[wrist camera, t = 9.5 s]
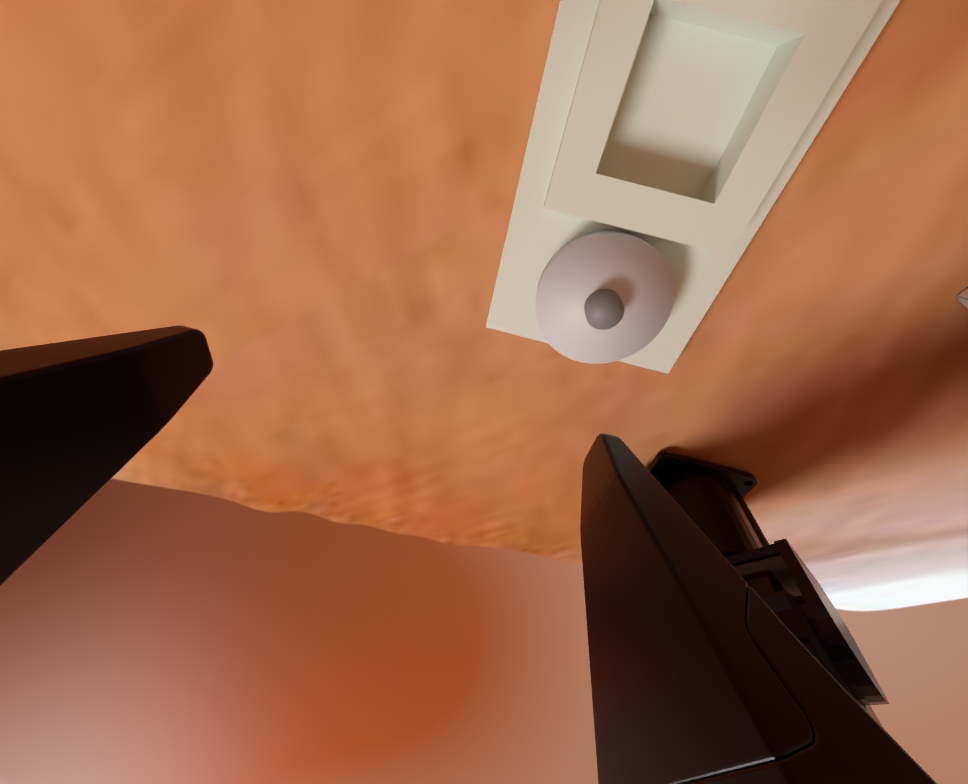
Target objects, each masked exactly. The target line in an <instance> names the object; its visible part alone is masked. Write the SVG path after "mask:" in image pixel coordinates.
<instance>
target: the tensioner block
mask: <svg viewBox="0 0 968 784" xmlns="http://www.w3.org/2000/svg"><path fill="white" fill-rule="evenodd" d="M899 2H900V0H560V4H559V8H558V13H557V17H556V21H555V26H554V30H553V35H552V39H551V43H550V48H549V52H548V56H547V61H546V65H545V70H544V74H543V78H542V83H541V87H540V92H539V96H538V100H537V105H536V109H535V113H534V118H533V122H532V127H531V131H530V135H529V140H528V144H527V149H526V153H525V157H524V162H523V166H522V170H521V175H520V179H519V184H518V188H517V192H516V197H515V201H514V206H513V210H512V214H511V219H510V223H509V227H508V232H507V236H506V241H505V245H504V249H503V254H502V258H501V263H500V267H499V271H498V276H497V280H496V285H495V289H494V293H493V298H492V302H491V306H490V311H489V315H488V320H487V324H486V327H487V328H491V329H495V330H499V331H503V332H507V333H511V334H515V335H518V336H522V337H526V338H530V339H534V340H538V341H542V342H546V343H549V344H550V345H551V346H552V348H554V349H555V350H556V351H557V352H559V353H560V354H562V355H563V356H565V357H568V358H570V359H572V360H575V361H578V362H583V363H592V364H601V363H609V362H614V361H620V362H624V363H628V364H632V365H636V366H640V367H644V368H647V369H651V370H655V371H659V372H663V373H667V374H668V373H669V371H670V370H671V368H672V367H673V365H674V363H675V362H676V360H677V358H678V357H679V355H680V354H681V352H682V350H683V349H684V347H685V346H686V344H687V342H688V341H689V339H690V338H691V336H692V334H693V333H694V331H695V330H696V328H697V326H698V325H699V323H700V322H701V320H702V318H703V317H704V315H705V314H706V312H707V310H708V309H709V307H710V305H711V304H712V302H713V301H714V299H715V297H716V296H717V294H718V293H719V291H720V289H721V288H722V286H723V285H724V283H725V281H726V280H727V278H728V277H729V275H730V273H731V272H732V270H733V269H734V267H735V265H736V264H737V262H738V260H739V259H740V257H741V256H742V254H743V252H744V251H745V249H746V248H747V246H748V244H749V243H750V241H751V240H752V238H753V236H754V235H755V233H756V232H757V230H758V228H759V227H760V225H761V224H762V222H763V220H764V219H765V217H766V216H767V214H768V212H769V211H770V209H771V207H772V206H773V204H774V203H775V201H776V199H777V198H778V196H779V195H780V193H781V191H782V190H783V188H784V187H785V185H786V183H787V182H788V180H789V179H790V177H791V175H792V174H793V172H794V171H795V169H796V167H797V166H798V164H799V162H800V161H801V159H802V158H803V156H804V154H805V153H806V151H807V150H808V148H809V146H810V145H811V143H812V142H813V140H814V138H815V137H816V135H817V134H818V132H819V130H820V129H821V127H822V126H823V124H824V122H825V121H826V119H827V118H828V116H829V114H830V113H831V111H832V109H833V108H834V106H835V105H836V103H837V101H838V100H839V98H840V97H841V95H842V93H843V92H844V90H845V89H846V87H847V85H848V84H849V82H850V81H851V79H852V77H853V76H854V74H855V73H856V71H857V69H858V68H859V66H860V65H861V63H862V61H863V60H864V58H865V56H866V55H867V53H868V52H869V50H870V48H871V47H872V45H873V44H874V42H875V40H876V39H877V37H878V36H879V34H880V32H881V31H882V29H883V28H884V26H885V24H886V23H887V21H888V20H889V18H890V16H891V15H892V13H893V11H894V10H895V8H896V7H897V5H898V3H899Z"/></svg>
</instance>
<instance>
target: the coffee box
mask: <svg viewBox="0 0 968 784" xmlns="http://www.w3.org/2000/svg"><path fill="white" fill-rule="evenodd" d="M957 297H958V300H959V301H960V302H961V303H962V304H963V305H964V306H965V307H966V308H967V309H968V288H967V289H965V290H964V291H962V292H961V293H960V294H959V295H958V296H957Z"/></svg>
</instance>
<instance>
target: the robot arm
mask: <svg viewBox="0 0 968 784" xmlns="http://www.w3.org/2000/svg"><path fill="white" fill-rule="evenodd" d="M212 368H213V360H212V357H211V354H210V350H209V347H208V344H207V340H206V337H205V335H204V334H203V333H202V332H201V331H199V330H197V329H193V328H189V327H185V326H172V327H165V328H157V329H150V330H143V331H136V332H129V333H122V334H115V335H108V336H101V337H94V338H87V339H80V340H72V341H65V342H58V343H51V344H44V345H37V346H30V347H23V348H16V349H9V350H2V351H0V586H1V585H2V584H3V583H4V582H5V581H6V580H7V579H8V578H9V577H10V576H11V575H12V574H13V573H14V572H15V571H16V570H17V569H18V568H19V567H20V566H21V565H22V564H23V563H24V562H25V561H27V560H28V559H29V558H30V557H31V556H32V555H33V554H34V553H35V551H37V550H38V549H39V548H40V547H41V546H42V545H43V544H44V543H45V542H46V541H47V540H48V539H49V538H50V537H51V536H52V535H53V534H54V533H55V532H56V531H57V530H58V529H59V528H60V527H62V525H64V524H65V522H67V521H68V520H69V519H70V518H71V517H72V516H73V515H74V514H75V513H76V512H77V511H78V510H79V509H80V508H81V507H82V506H83V505H84V504H85V503H86V502H87V501H88V500H89V499H90V498H91V497H92V496H93V495H94V494H96V493H97V492H98V491H99V490H100V489H101V488H102V486H104V485H105V484H106V483H107V482H108V481H109V480H110V479H111V478H112V477H113V476H114V475H115V474H116V473H117V472H118V471H119V470H120V469H121V468H122V467H123V466H124V465H125V464H126V463H127V462H128V461H129V460H131V459H132V458H133V457H134V456H135V455H136V454H137V453H138V452H139V451H140V450H141V449H142V448H143V447H144V446H145V445H146V444H147V443H148V442H149V441H150V440H151V439H152V438H153V437H154V436H155V435H156V434H157V433H158V432H159V431H160V430H161V429H162V428H163V427H164V426H165V425H166V424H167V423H168V422H169V421H170V420H171V419H172V417H173V416H174V415H175V414H176V413H177V412H178V410H179V409H180V408H181V407H182V406H183V404H184V403H185V402H186V401H187V400H188V399H189V397H190V396H191V395H192V394H193V393H194V391H195V390H196V389H197V388H198V387H199V386H200V384H201V383H202V382H203V381H204V380H205V378H206V377H207V376H208V375H209V374H210V372H211V370H212ZM665 459H667V460H665ZM663 460H664V461H663ZM756 484H757V480H756V479H755V477H754V476H753V475H752V474H750V473H746V472H742V471H738V470H734V469H730V468H726V467H723V466H719V465H715V464H711V463H707V462H703V461H699V460H695V459H691V458H687V457H683V456H680V455H676V454H672V453H668V452H663V453H660V454H658V455H657V456H656V457H655V459H654V460H653V462H652V463H651V464H650V466H649V467H648V469H647V468H646V467H645V466H644V465H643V464H642V463H641V462H640V460H639V459H638V458H637V457H636V456H635V455H634V454H633V452H632V451H631V450H630V449H629V448H628V447H627V446H626V445H625V443H624V442H623V441H622V440H621V439H620V438H619V437H616V436H612V435H608V434H604V433H602V434H599V435H598V436H597V438H596V440H595V441H594V443H593V445H592V447H591V449H590V451H589V452H588V454H587V456H586V458H585V461H584V465H583V479H582V501H581V527H580V531H581V548H582V562H583V576H584V590H585V603H586V617H587V631H588V645H589V657H590V672H591V686H592V700H593V714H594V727H595V740H596V754H597V768H598V782H599V784H936V782H935V781H933V779H932V778H931V777H930V776H929V775H928V774H927V773H926V772H925V771H924V770H923V769H922V768H921V767H920V766H919V765H918V764H917V763H916V762H915V761H914V760H913V759H912V758H911V757H910V756H909V755H908V754H907V753H906V752H905V751H904V750H903V749H902V747H901V746H899V744H897V742H896V741H895V740H894V739H893V738H892V737H891V736H890V735H889V734H888V733H887V732H886V731H885V730H884V728H883V727H882V725H881V723H880V722H879V720H878V718H877V717H876V715H875V713H874V711H873V710H872V708H871V707H870V705H879V704H889V703H888V701H887V698H886V696H885V695H884V693H883V691H882V689H881V688H880V686H879V684H878V682H877V680H876V678H875V677H874V675H873V673H872V671H871V669H870V668H869V666H868V664H867V662H866V660H865V658H864V657H863V655H862V653H861V651H860V650H859V648H858V646H857V644H856V642H855V640H854V638H853V637H852V635H851V633H850V631H849V630H848V628H847V626H846V625H845V623H844V622H843V620H842V618H841V617H840V615H839V614H838V612H837V611H836V609H835V608H834V606H833V605H832V603H831V601H830V600H829V598H828V597H827V595H826V594H825V592H824V591H823V589H822V588H821V586H820V584H819V583H818V581H817V580H816V579H815V577H814V576H813V575H812V573H811V572H810V571H809V569H808V568H807V567H806V565H805V564H804V563H803V561H802V560H801V559H800V557H799V556H798V554H797V553H796V552H795V550H794V549H793V548H792V546H791V545H790V544H789V542H788V541H787V540H786V539H782V540H778V541H774V543H775V544H771V545H769V543H768V541H767V540H766V538H765V536H764V534H763V533H762V531H761V529H760V527H759V526H758V524H757V522H756V520H755V519H754V517H753V515H752V513H751V511H750V510H749V508H748V506H747V504H746V503H745V501H744V499H743V497H744V496H745V495H746V494H747V493H748V492H749V491H750V490H751V489H752V488H753V487H754V486H756Z"/></svg>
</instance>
